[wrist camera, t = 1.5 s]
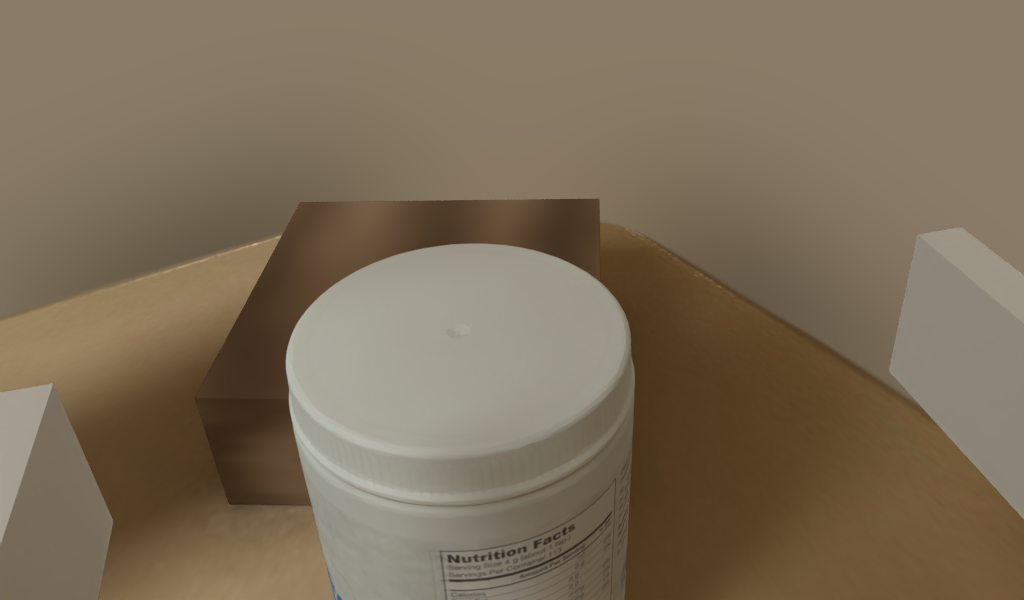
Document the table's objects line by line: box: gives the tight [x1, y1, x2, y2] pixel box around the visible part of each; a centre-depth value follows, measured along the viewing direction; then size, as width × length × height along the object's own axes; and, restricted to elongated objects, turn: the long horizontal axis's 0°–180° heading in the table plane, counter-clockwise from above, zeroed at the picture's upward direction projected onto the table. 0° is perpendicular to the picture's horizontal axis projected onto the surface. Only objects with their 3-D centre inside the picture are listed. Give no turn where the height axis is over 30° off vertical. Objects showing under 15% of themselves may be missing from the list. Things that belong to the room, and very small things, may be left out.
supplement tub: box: [286, 244, 635, 600], centre depth 29 cm, size 10×10×15 cm
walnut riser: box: [195, 199, 600, 505], centre depth 44 cm, size 16×16×6 cm
